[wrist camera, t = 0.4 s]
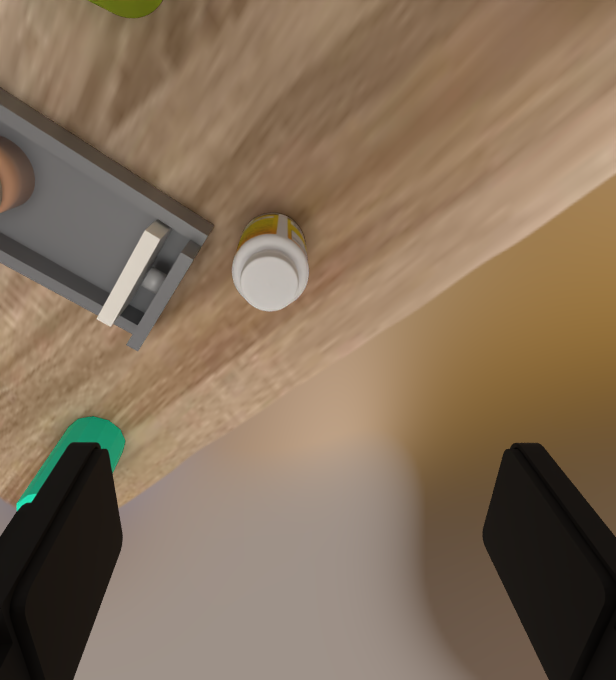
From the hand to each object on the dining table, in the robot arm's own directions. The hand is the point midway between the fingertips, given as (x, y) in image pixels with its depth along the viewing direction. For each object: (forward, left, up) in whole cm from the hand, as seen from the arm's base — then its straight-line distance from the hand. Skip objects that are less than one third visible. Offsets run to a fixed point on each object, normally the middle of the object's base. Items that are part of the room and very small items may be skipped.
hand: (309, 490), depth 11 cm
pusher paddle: (+10, -8, -31) cm, 33 cm away
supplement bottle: (+3, 0, -32) cm, 32 cm away
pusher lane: (+10, -15, -32) cm, 37 cm away
